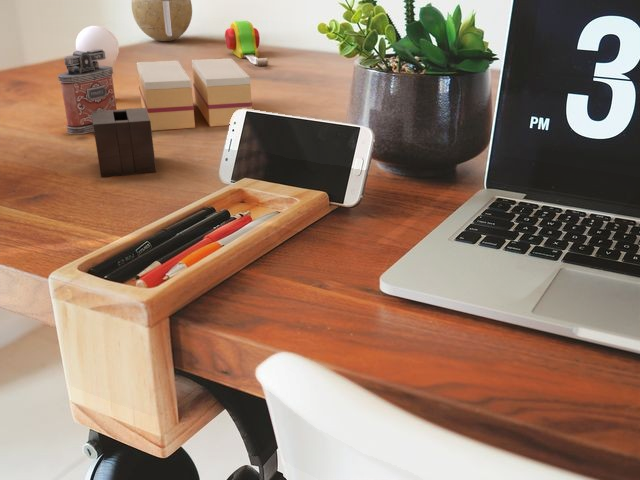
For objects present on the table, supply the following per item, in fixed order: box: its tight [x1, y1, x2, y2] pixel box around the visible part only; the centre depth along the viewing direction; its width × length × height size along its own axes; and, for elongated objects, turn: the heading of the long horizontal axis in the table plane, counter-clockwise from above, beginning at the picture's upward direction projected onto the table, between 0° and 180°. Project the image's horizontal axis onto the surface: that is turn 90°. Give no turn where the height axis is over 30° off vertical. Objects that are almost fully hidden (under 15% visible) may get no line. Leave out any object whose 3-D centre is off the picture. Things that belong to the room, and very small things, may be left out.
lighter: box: [57, 49, 118, 135], centre depth 96 cm, size 8×3×10 cm, turn 151°
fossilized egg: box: [131, 0, 193, 42], centre depth 157 cm, size 13×13×15 cm
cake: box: [136, 57, 253, 132], centre depth 104 cm, size 14×14×6 cm
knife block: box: [92, 107, 157, 178], centre depth 83 cm, size 6×6×6 cm
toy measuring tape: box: [224, 20, 269, 67], centre depth 144 cm, size 6×19×7 cm, turn 24°
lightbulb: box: [75, 25, 120, 80], centre depth 109 cm, size 6×6×11 cm
